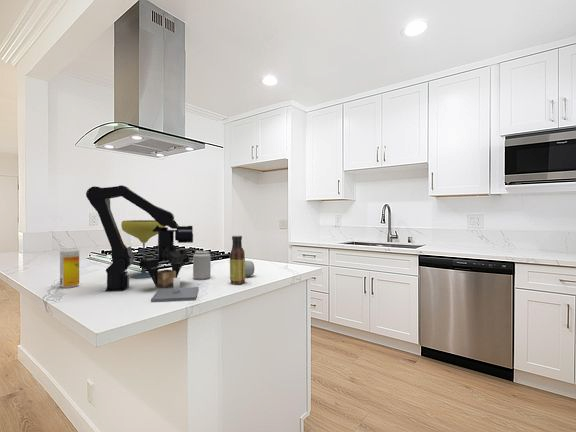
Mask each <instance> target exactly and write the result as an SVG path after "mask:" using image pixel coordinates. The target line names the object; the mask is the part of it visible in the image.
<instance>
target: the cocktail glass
mask: <svg viewBox="0 0 576 432" xmlns="http://www.w3.org/2000/svg"><path fill="white" fill-rule="evenodd" d="M157 225H158V226H159V227H166V226H162V225H160V224H159V223H158V222H157V221H156V220H155V219H151V220H150V219H149V220H148V219H147V220H146V219H145V220H144V219H143V220H142V219H141V220H140V219H139V220H132V219H131V220H122V221H121V229H122V231H123V232H125V233H126V234H128V235H129V236H132V237H134V238H135V239H138V240H139V241H140V243H142V246H143V247H142V259H146V257H145V255H146V254H145V253H146V252H145V249H146V247H145V246H146V245H145V244H146V243H148V241H149V240H150V239H151V238H152V237H154V236H156V235H157V236H158V232H153V230H154V229H155V228H156V226H157ZM141 270H142V271H141V272H139V273H135V274H132V275H129V278H132V279H148V278H149V279H151V276H150V274H149V272H148V271H147V270H146V269H144V268H143V267H142V269H141Z"/></svg>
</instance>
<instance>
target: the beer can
mask: <svg viewBox="0 0 576 432" xmlns="http://www.w3.org/2000/svg"><path fill="white" fill-rule="evenodd" d="M79 284H80V249H79V247H78V246H67V247H61V249H60V250H59V286H60V287H61V288H62V289H71V288H75V287H78V285H79Z"/></svg>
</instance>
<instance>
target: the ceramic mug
mask: <svg viewBox="0 0 576 432" xmlns="http://www.w3.org/2000/svg"><path fill="white" fill-rule="evenodd" d="M254 274H255V264H254V262H253V261H251V260H245V278H246V277H252V276H253V275H254Z"/></svg>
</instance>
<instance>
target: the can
mask: <svg viewBox="0 0 576 432" xmlns="http://www.w3.org/2000/svg"><path fill="white" fill-rule="evenodd" d="M192 257H193V258H192V264H193V265H192V278H194V280H198V281H199V280H208V279H209V278H210V277H211V257H212V255H211V254H210V251H209V250H197V251H194V254H193V255H192Z"/></svg>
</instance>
